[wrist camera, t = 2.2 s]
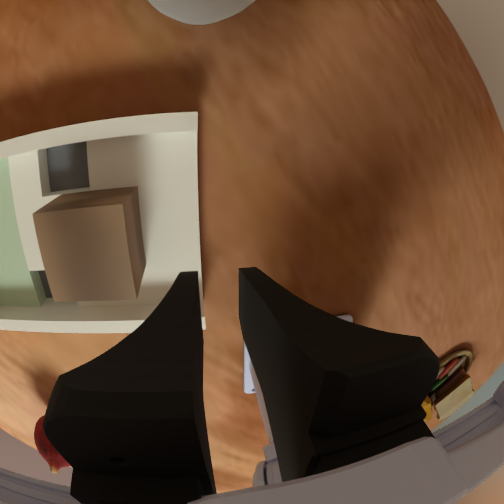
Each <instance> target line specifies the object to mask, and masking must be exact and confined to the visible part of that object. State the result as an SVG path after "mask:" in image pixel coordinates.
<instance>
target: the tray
mask: <svg viewBox="0 0 504 504" xmlns="http://www.w3.org/2000/svg"><path fill="white" fill-rule="evenodd" d="M197 131H198V112H178V113H162V114H149V115H138V116H129V117H120V118H112V119H105V120H98V121H92V122H85V123H80V124H74V125H69V126H63V127H58V128H54V129H49V130H44V131H40V132H36V133H32V134H28V135H24V136H20V137H16V138H12V139H9V140H5V141H2V142H0V330H13V331H30V332H54V333H132V332H133V331H134V330H136V329H137V328H138V327H139V326H140V325H141V324H142V323H143V322H144V321H145V320H146V319H147V318H148V316H149V315H150V314H151V313H152V312H153V311H154V309H155V308H156V307H157V306H158V304H159V303H160V302H161V301H162V299H163V298H164V296H165V295H166V293H167V292H168V291H169V289H170V288H171V286H172V284H173V283H174V281H175V279H176V278H177V276H178V274H179V273H180V272H185V271H198V280H199V293H200V306H201V318H202V329H206V325H205V313H204V303H203V289H202V273H201V255H200V234H199V208H198V165H197ZM134 186H138V196H139V208H140V218H141V228H142V237H143V245H144V253H145V261H146V267H145V271H144V274H143V278H142V282H141V286H140V289H139V293H138V297H137V300H111V301H68V302H54V299H53V296H52V293H51V290H50V286H49V283H48V280H47V276H46V273H45V269H44V265H43V261H42V257H41V253H40V249H39V245H38V240H37V236H36V231H35V226H34V221H33V215H32V214H33V213H34V212H36V211H37V210H39V209H40V208H42V207H43V206H44V205H46V204H48V203H49V202H51V201H52V200H54V199H55V198H57V197H58V196H60V195H61V194H67V193H75V192H84V191H93V190H102V189H112V188H123V187H134Z"/></svg>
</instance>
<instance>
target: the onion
mask: <svg viewBox="0 0 504 504" xmlns="http://www.w3.org/2000/svg"><path fill="white" fill-rule="evenodd" d="M44 417H45V415H44V416H42V417H41V418H39V420H38V421H37V423H36V426H35V432H34V439H35V444H36V446H37V449H38V451H39V453H40V454H41V455H42V457H43V458H44V459H45V460H46V461H47V462H48V464H49V466H50V470H51V471H52V472H53V473H54V474H56V473H58V471H59V469H60V468H62V467H67V466H70V464H69V463H68V462H67V461H66V460H65V459H64V458H63V457H62V456H61V455H60V454H59V452H58V451H57V450H56V449H55V448H54V447H53V446H52V444H51V443H50V441H49V440H48V438H47V437H46V435H45V434H44V431H43V427H42V424H43V420H44Z"/></svg>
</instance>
